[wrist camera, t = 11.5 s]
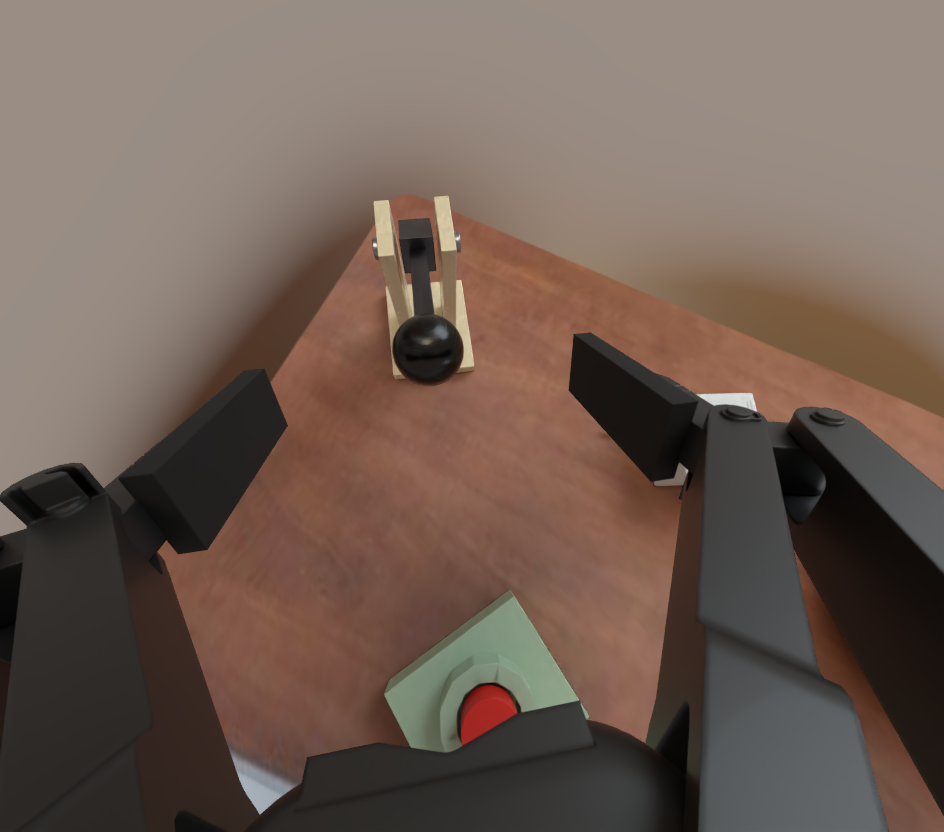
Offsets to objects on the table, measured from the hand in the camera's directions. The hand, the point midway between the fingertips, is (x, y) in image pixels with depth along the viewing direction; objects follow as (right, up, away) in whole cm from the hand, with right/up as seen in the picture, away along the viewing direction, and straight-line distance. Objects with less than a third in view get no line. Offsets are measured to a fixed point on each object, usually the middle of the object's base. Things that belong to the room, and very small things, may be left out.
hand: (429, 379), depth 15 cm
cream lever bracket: (-3, +7, +20) cm, 22 cm away
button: (+3, -23, +9) cm, 25 cm away
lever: (-1, +5, +7) cm, 9 cm away
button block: (+3, -24, +12) cm, 27 cm away
